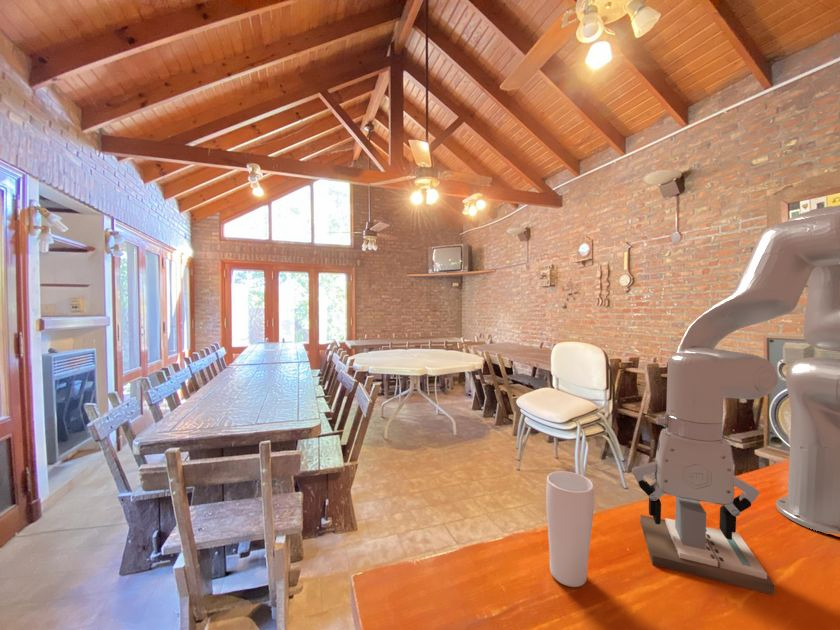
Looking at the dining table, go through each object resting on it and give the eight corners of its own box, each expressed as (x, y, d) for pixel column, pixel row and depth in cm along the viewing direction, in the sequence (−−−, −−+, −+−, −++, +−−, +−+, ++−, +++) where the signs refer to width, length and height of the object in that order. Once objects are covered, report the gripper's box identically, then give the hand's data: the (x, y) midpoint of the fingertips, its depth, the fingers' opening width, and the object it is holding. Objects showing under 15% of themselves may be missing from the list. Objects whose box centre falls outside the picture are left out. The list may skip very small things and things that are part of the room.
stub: (665, 522, 66) (666, 486, 66) (697, 529, 64) (698, 492, 64) (679, 557, 57) (680, 516, 57) (717, 566, 55) (719, 524, 55)
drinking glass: (570, 556, 60) (572, 467, 59) (602, 587, 53) (604, 488, 53) (535, 565, 58) (537, 474, 57) (564, 598, 51) (566, 496, 51)
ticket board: (640, 522, 69) (640, 510, 69) (739, 543, 63) (740, 530, 63) (652, 564, 58) (652, 550, 58) (774, 595, 52) (775, 579, 52)
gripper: (636, 427, 60) (634, 526, 61) (771, 444, 53) (766, 556, 54) (630, 414, 67) (628, 503, 68) (749, 427, 60) (745, 527, 61)
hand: (689, 526), depth 61 cm, fingers open, 9 cm apart
